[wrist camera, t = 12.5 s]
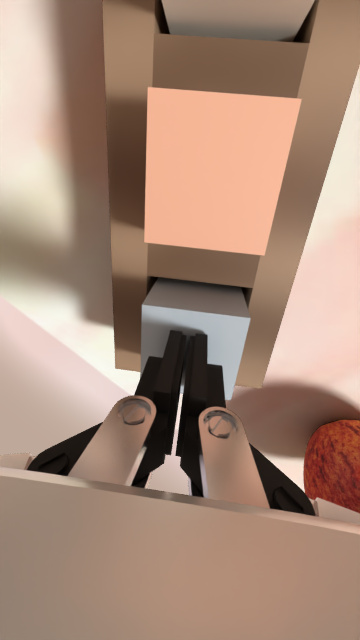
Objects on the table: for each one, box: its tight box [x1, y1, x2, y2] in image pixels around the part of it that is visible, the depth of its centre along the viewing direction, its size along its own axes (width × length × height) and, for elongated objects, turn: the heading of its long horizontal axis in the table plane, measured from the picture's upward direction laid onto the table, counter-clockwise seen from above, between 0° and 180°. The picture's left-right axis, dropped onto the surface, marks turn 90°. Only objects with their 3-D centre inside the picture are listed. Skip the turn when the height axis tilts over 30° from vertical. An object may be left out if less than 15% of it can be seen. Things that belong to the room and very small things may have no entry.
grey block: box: [140, 277, 251, 400], centre depth 14 cm, size 4×4×5 cm
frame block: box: [102, 0, 360, 389], centre depth 13 cm, size 21×9×4 cm, turn 175°
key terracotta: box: [144, 87, 302, 256], centre depth 11 cm, size 4×4×5 cm
